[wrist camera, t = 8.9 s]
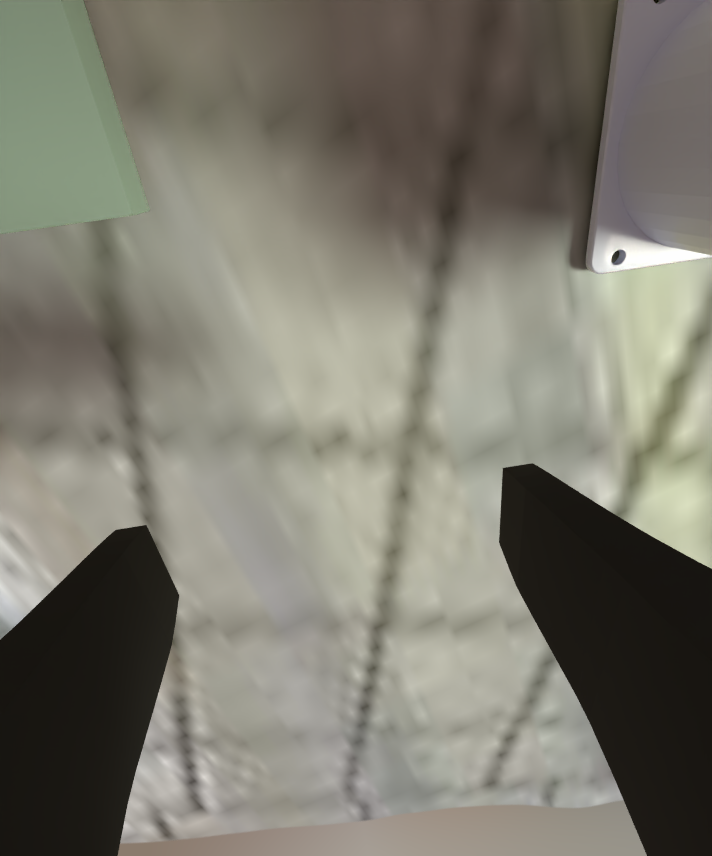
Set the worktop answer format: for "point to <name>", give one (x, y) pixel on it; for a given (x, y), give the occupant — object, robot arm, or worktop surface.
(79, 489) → the worktop surface
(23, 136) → the stand
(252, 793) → the worktop surface
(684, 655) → the robot arm
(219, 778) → the worktop surface
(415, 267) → the worktop surface
